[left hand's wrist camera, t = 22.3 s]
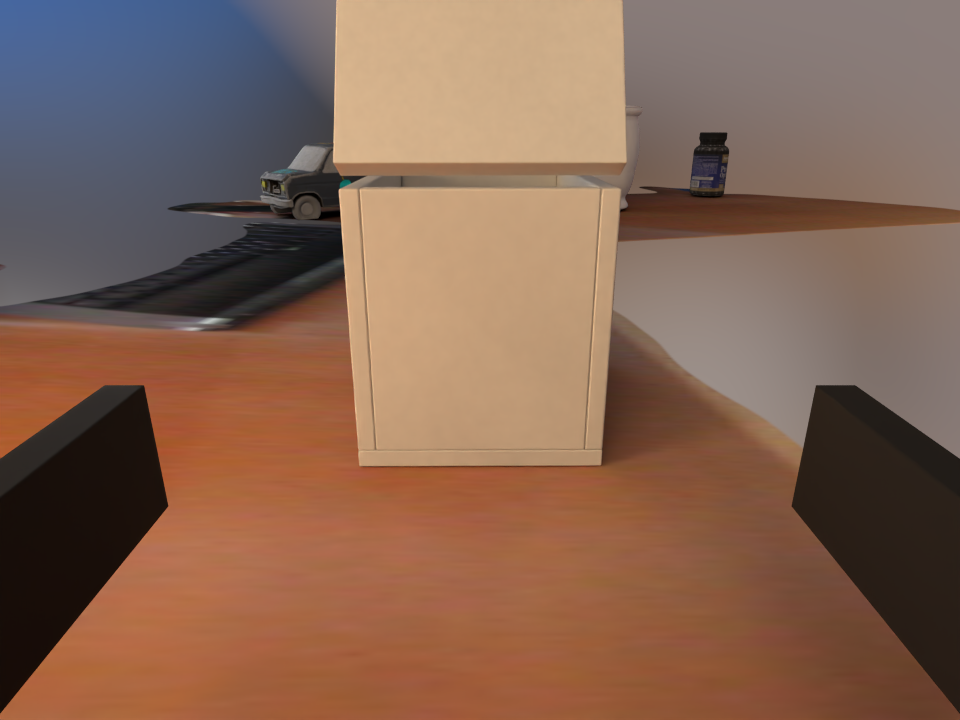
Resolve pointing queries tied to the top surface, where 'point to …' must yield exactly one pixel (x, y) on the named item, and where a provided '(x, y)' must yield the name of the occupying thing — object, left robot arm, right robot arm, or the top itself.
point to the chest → (480, 317)
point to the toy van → (306, 183)
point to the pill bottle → (709, 165)
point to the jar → (633, 147)
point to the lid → (479, 88)
